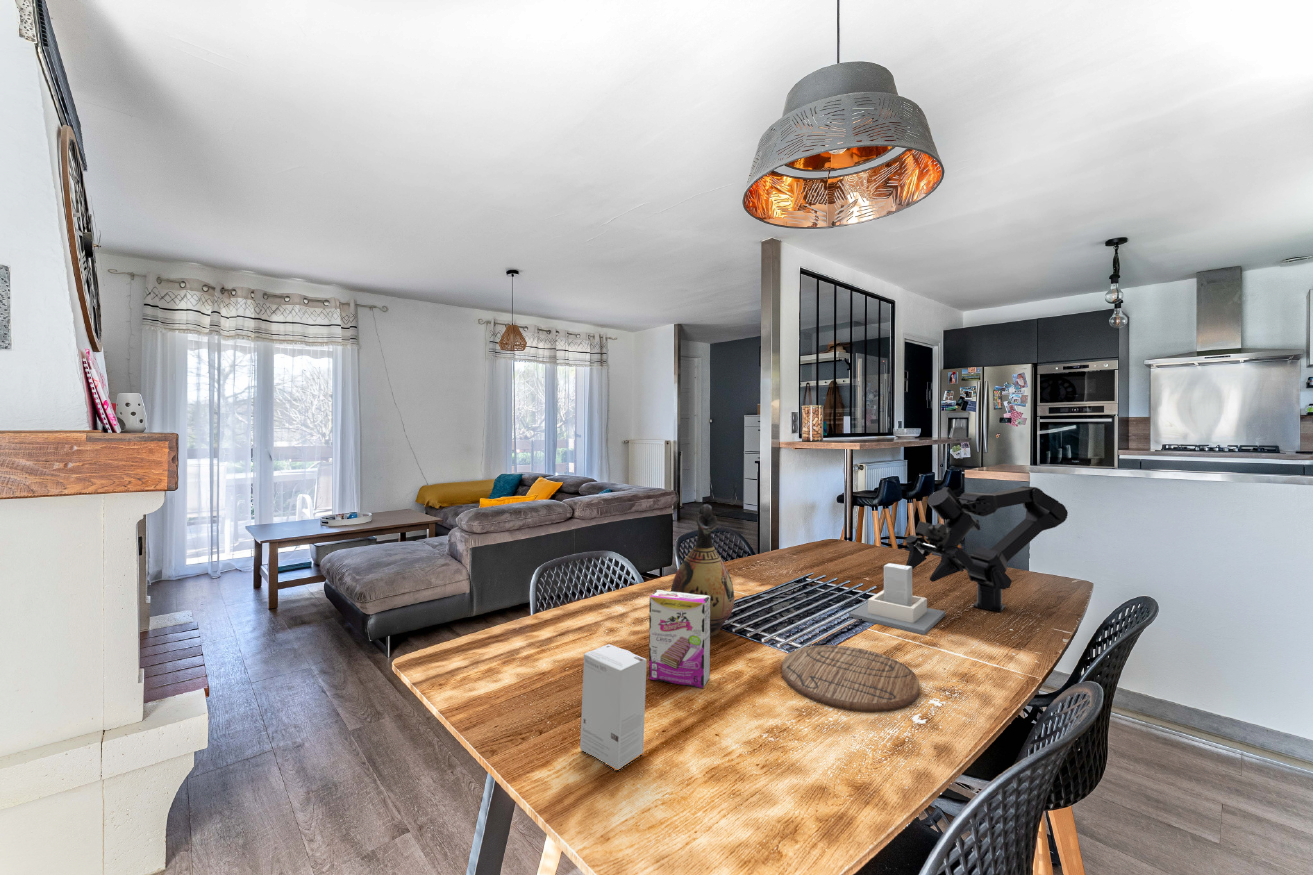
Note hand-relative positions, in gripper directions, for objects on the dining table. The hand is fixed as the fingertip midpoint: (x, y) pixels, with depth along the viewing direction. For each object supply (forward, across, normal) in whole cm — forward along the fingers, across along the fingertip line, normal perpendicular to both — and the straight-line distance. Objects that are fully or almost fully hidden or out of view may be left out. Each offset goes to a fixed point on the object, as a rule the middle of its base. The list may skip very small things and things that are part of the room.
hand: (918, 575), depth 142 cm
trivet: (+35, +28, -20) cm, 49 cm away
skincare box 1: (+68, +41, -55) cm, 97 cm away
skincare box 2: (+11, 0, +2) cm, 11 cm away
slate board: (+12, 0, +3) cm, 12 cm away
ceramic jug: (+48, -4, -34) cm, 59 cm away
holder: (+12, 0, +3) cm, 12 cm away
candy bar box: (+57, +20, -43) cm, 74 cm away
